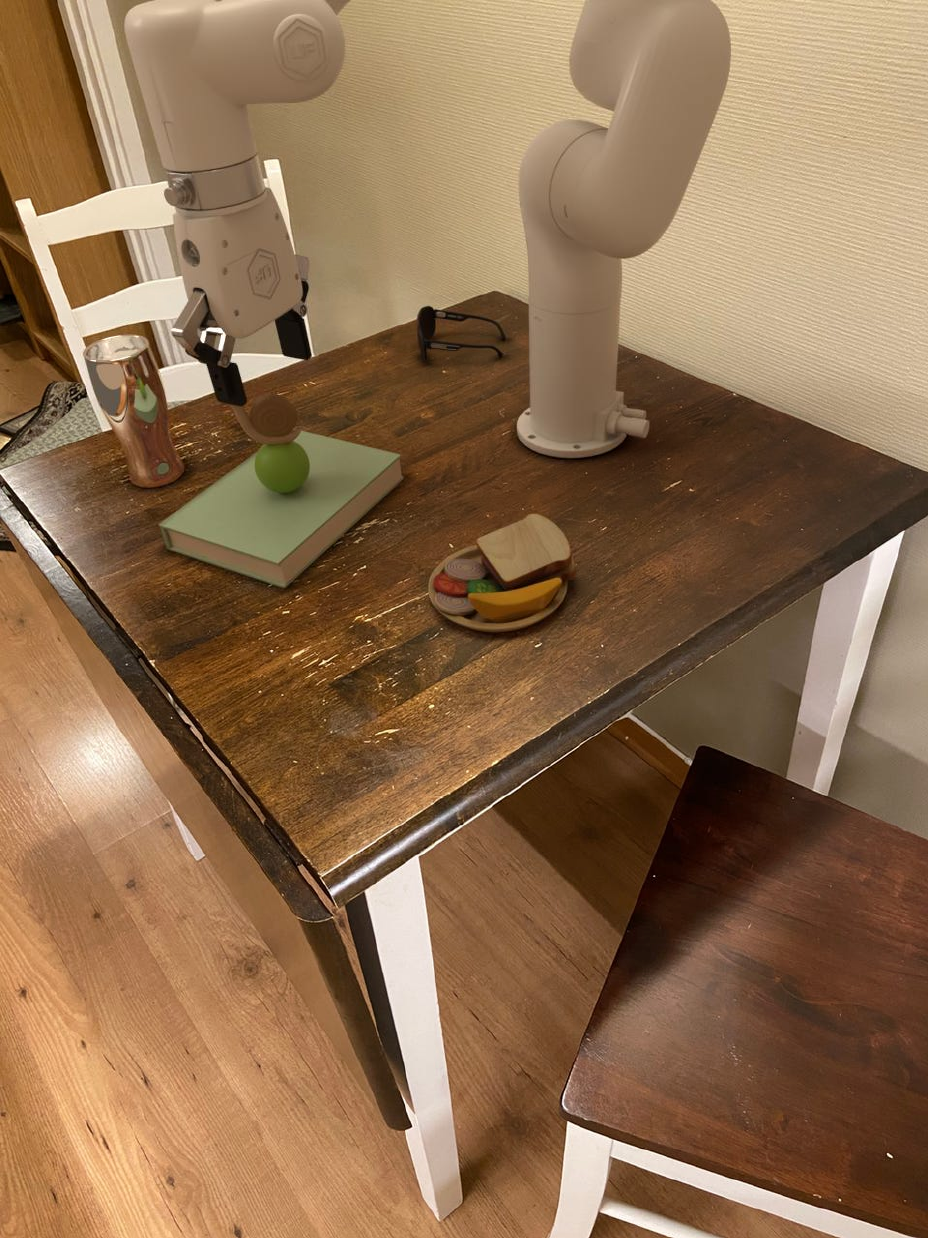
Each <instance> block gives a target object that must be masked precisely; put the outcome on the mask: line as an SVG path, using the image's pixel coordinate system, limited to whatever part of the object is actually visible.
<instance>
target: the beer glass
mask: <svg viewBox="0 0 928 1238" xmlns="http://www.w3.org/2000/svg"><path fill="white" fill-rule="evenodd" d="M82 357H83V359H84V362H85V366H86V369H87V374H88V377H89V381H90V384H91V387H92V390H93V393H94V396H95V398H96V401H97V403H98V406H99V408H100V409H101V411H102V414H103V416H104V417H105V419H106V421H107V423H108V424H109V426H110V428H111V429H112V430H111V431H113V433H114V435H115V436H116V438H117V440H118V442H119V444H120V446H121V448H122V450H123V452H124V455H125V459H126V464H127V465H126V466H127V473H128V477H129V480H130V482H131V484H133V485H134V486H136V487H139V488H143V489H152V488H159V487H163V486H167V485H169V484H172V483H173V482H175V481H176V480H178V479H179V478H180V477H181V476H182V475H183V474H184V472H185V464H184V462H183V460H182V458H181V456H180V454H179V453H178V450H177V448H176V446H175V444H174V441H173V436H172V432H171V426H170V425H171V424H170V417H169V409H168V408H169V407H168V400H167V395H166V388H165V385H164V382H163V378H162V374H161V372H160V369H159V365H158V364H157V363H158V362H157V361H156V358H155V355H154V353H153V351H152V348H151V346H150V342H149V340H148V338H146V337H145V336H144V335H143V336H142V335H138V334H131V333H129V334H128V333H127V334H117V335H111V336H107V337H105V338H101V339H99V340H95V341H94V342H92V343H90V344H89V345H87V346H86V347H85V348H84V349H83V351H82Z"/></svg>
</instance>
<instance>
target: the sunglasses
mask: <svg viewBox="0 0 928 1238" xmlns="http://www.w3.org/2000/svg"><path fill="white" fill-rule="evenodd" d="M436 319H442V320H448V321H453V322H454V321H455V322H461V323H462V322H464V321H467V320H468V319H474V320H479V321H485V322H488V323H491V324H493V325H495V326H496V327H497V329H498V331H499V333H500V338H501V340H503V341H505V340H506V334H505V332H504V330H503V328H502V327H501V325H500V324H499V323H498V322H497V321H495V320H493V319H492V318H491V319H490V318H487V317H483V316H479V315H474V314H467V313H460V312H454V311H448V310H440V309H438V308H437V309H436V308H434V307H432V306H430V305H425V306H423V307H421V308H420V309H419V311H418V313H417V316H416V330H417V331H416V332H417V343H418V347H419V351H420V354H421V357H422V360H423V361H427V360H428V352H427V350H438V351H449V352H457V351H458V350H460V349H463V348H468V349H492V350H494V351H495V352H496V353H497V357H498V358H500V359H502V358H503V356H504V354H503V352H502V351H501V350H499V349H498V347H496V346H494V345H490V344H488V345H487V344H467V343H459V342H451V341H450V342H449V341H440V340H432V338H433V337H434V336H435V333H436V321H437V320H436Z"/></svg>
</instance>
